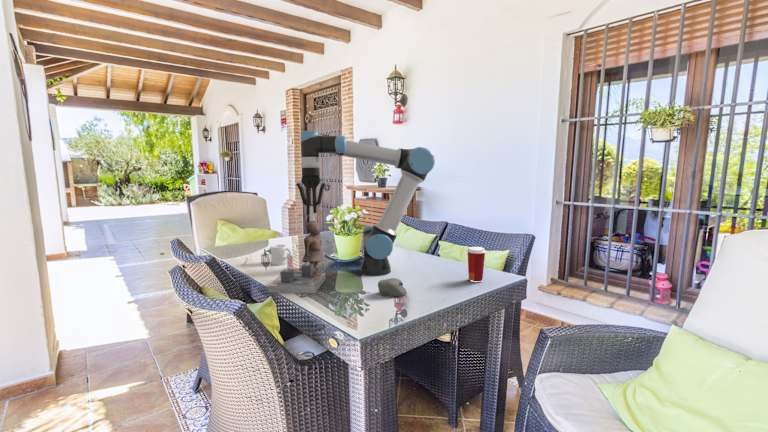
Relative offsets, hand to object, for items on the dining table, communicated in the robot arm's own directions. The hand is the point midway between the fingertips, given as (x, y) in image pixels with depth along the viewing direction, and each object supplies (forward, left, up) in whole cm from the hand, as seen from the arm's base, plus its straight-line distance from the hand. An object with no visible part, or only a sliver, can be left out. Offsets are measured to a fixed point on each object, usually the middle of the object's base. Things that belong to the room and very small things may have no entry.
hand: (312, 220), depth 169 cm
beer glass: (-73, -6, -29) cm, 79 cm away
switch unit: (+6, +5, -28) cm, 29 cm away
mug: (+26, -32, -29) cm, 50 cm away
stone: (-36, +14, -29) cm, 48 cm away
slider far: (+3, 0, -25) cm, 25 cm away
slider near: (+9, +10, -25) cm, 28 cm away
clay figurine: (+6, -21, -29) cm, 36 cm away
